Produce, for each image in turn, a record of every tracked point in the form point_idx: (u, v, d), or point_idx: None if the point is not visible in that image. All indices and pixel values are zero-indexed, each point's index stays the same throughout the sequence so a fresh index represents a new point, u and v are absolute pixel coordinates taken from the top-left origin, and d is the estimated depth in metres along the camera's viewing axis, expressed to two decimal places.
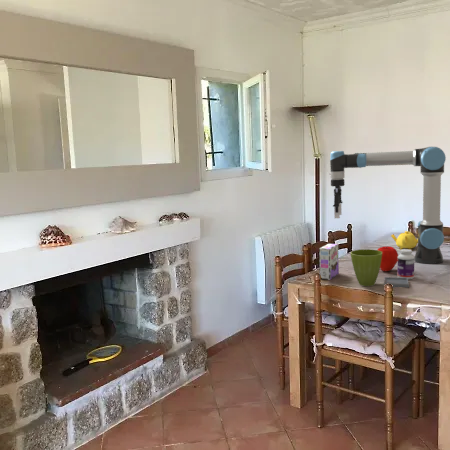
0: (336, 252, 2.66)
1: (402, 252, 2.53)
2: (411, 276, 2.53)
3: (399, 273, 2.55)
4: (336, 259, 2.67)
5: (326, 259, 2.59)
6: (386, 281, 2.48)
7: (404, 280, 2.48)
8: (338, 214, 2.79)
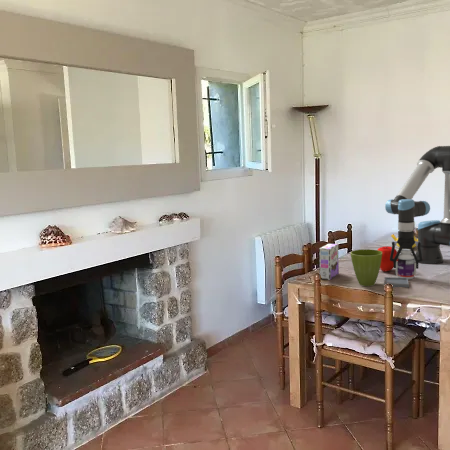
0: (336, 252, 2.66)
1: (402, 252, 2.53)
2: (411, 276, 2.53)
3: (399, 273, 2.55)
4: (336, 259, 2.67)
5: (326, 259, 2.59)
6: (386, 281, 2.48)
7: (404, 280, 2.48)
8: (396, 270, 2.56)
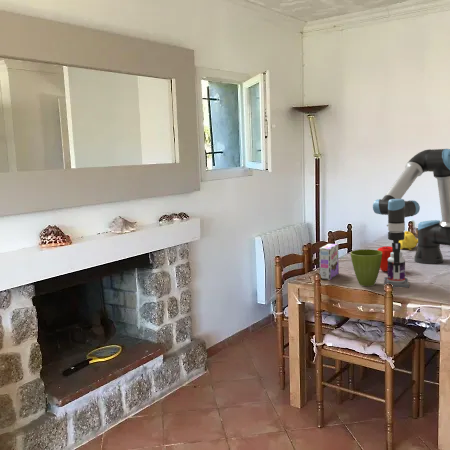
0: (336, 252, 2.66)
1: (401, 255, 2.42)
2: None
3: (401, 277, 2.42)
4: (336, 259, 2.67)
5: (326, 259, 2.59)
6: (386, 281, 2.48)
7: None
8: (398, 274, 2.39)
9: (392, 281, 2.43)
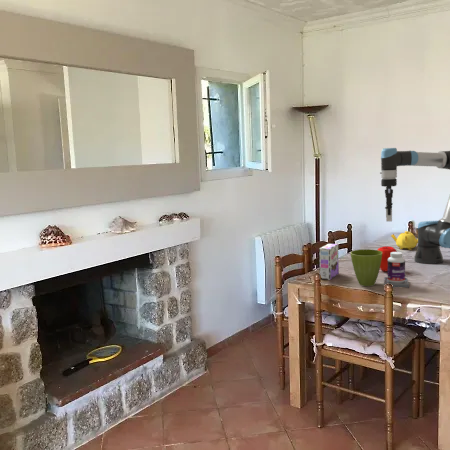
0: (336, 252, 2.66)
1: (400, 255, 2.42)
2: None
3: (401, 277, 2.42)
4: (336, 259, 2.67)
5: (326, 259, 2.59)
6: (386, 281, 2.48)
7: None
8: (390, 217, 2.55)
9: (392, 281, 2.43)
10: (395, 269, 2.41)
